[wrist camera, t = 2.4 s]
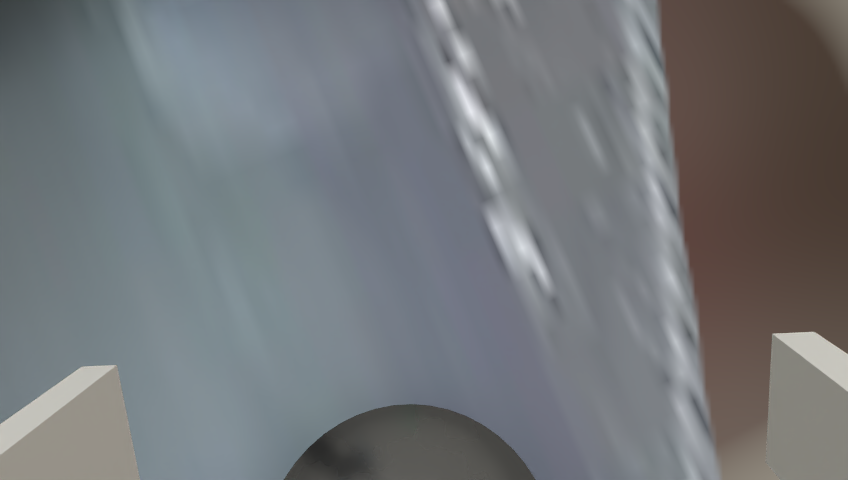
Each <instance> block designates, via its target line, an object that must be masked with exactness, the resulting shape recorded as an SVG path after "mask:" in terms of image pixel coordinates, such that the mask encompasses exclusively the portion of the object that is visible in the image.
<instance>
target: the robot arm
mask: <svg viewBox="0 0 848 480" xmlns="http://www.w3.org/2000/svg"><path fill="white" fill-rule="evenodd" d="M766 463H767V464H768V465H769V467H770V468H771V469H772V470H773V471H774V473H775V474H776V475H777V476H778V477H779V479H780V480H848V354H846V353H845V352H843V351H842V350H841V349H839V348H838V347H836V346H834V345H833V344H832V343H830V342H829V341H827V340H826V339H824V338H823V337H821V336H820V335H818V334H817V333H815V332H800V333H779V334H772V351H771V372H770V390H769V410H768V430H767V450H766ZM0 480H140V478H139V473H138V468H137V463H136V458H135V453H134V448H133V443H132V438H131V433H130V428H129V423H128V418H127V413H126V408H125V404H124V399H123V394H122V389H121V384H120V379H119V374H118V369H117V365H107V366H86V367H81V368H79V369H78V370H76V371H75V372H74V373H72V374H71V375H69V376H68V377H66V378H65V379H64V380H62V381H61V382H59V383H58V384H57V385H55V386H54V387H52V388H51V389H49V390H48V391H47V392H45V393H44V394H42V395H41V396H40V397H38V398H37V399H35V400H34V401H32V402H31V403H30V404H28V405H27V406H25V407H24V408H23V409H21V410H20V411H18V412H17V413H15V414H14V415H13V416H11V417H10V418H8V419H7V420H6V421H4V422H3V423H1V424H0Z"/></svg>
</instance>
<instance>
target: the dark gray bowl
mask: <svg viewBox="0 0 848 480" xmlns="http://www.w3.org/2000/svg"><path fill="white" fill-rule="evenodd" d="M284 480H535V478H534V477H533V475H532V474H531V472H530V471H529V469H528V468H527V466H526V465H525V463H524V462H523V461H522V460H521V458H520V457H519V456H518V455H517V454H516V453H515V451H514V450H513V449H512V448H511V447H510V446H509V445H508V444H507V443H505V442H504V441H503V440H502V439H501V438H500V437H499V436H498V435H496V434H495V433H493V432H492V431H491V430H489V429H488V428H486V427H485V426H483V425H482V424H480V423H478V422H476V421H474V420H472V419H470V418H469V417H467V416H464V415H462V414H459V413H456V412H453V411H450V410H448V409H443V408H438V407H433V406H427V405H413V404H409V405H393V406H388V407H383V408H378V409H374V410H371V411H368V412H365V413H362V414H359V415H356V416H354V417H352V418H350V419H348V420H346V421H344V422H342V423H340V424H339V425H337V426H336V427H334V428H333V429H331V430H330V431H328V432H327V433H325V434H324V435H323V436H322V437H320V438H319V439H318V440H317V441H316V442H315V443H314V444H312V445H311V446H310V447H309V448H308V449H307V450H306V451H305V453H304V454H303V455H302V456H301V457H300V458H299V459H298V460H297V462H296V463H295V464H294V466H293V467H292V469H291V470H290V471H289V473H288V474H287V476H286V477H285V479H284Z"/></svg>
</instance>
